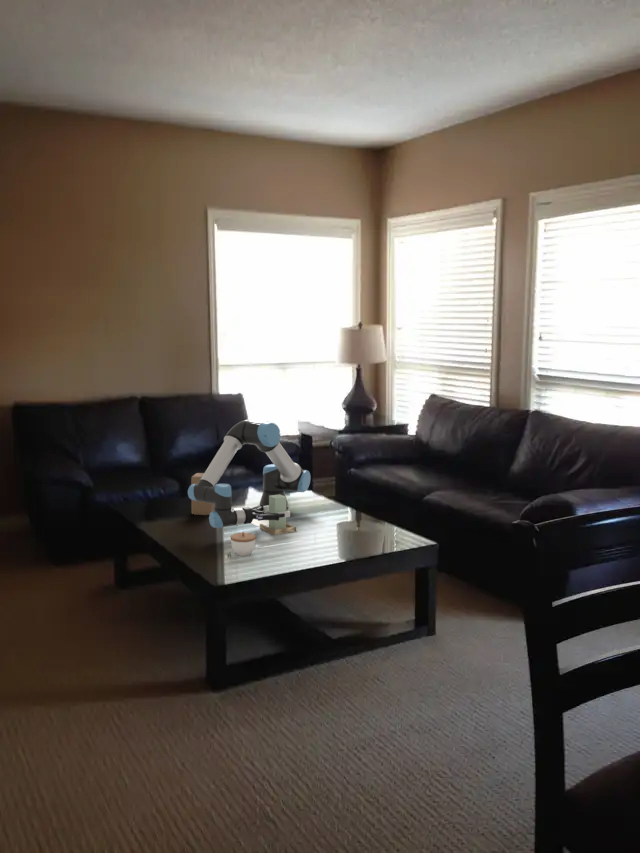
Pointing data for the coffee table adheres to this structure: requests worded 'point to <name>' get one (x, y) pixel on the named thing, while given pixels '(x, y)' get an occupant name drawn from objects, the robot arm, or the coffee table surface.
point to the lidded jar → (243, 543)
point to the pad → (260, 522)
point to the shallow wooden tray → (278, 531)
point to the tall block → (277, 505)
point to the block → (198, 506)
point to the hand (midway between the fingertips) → (282, 510)
